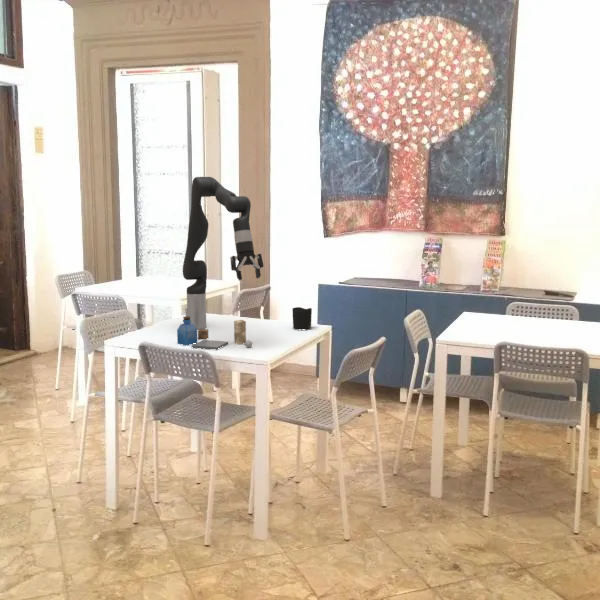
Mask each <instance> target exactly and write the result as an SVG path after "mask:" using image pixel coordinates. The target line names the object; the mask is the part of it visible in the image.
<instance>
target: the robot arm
mask: <svg viewBox="0 0 600 600" xmlns="http://www.w3.org/2000/svg"><path fill="white" fill-rule="evenodd" d="M190 191H191V194H190V195H191V196H190V197H191V199H190V200H191V201H190V214H189V215H190V216H189V222H188V230H187V241H186V249H185V254H184V260H183V263H182V264H183V265H182V277H183V278H184V279H185V280H186V281H193V280H194V281H195V282H194V283H192V284H191V285H190V286H187V287H186V308H185V316H189V317H190V319H191V322H190V324H194V326H195V327H196V329H197V330H199V329H206V328H207V301H206V300H207V293H206V292H207V278H208V277H207V275H208V273H207V271H208V269H207V268H208V267H207V265H206V262H205V261H204V260H200V259H199V260H197V259H196V260H195V258H196V255H197V253H198V251H199V250H200V249H201V247H202V246H203V245H204V243H205V242H206V241H207V238H208V232H209V220H208V218H207V216H206V215H205V213H204V211H203V208H202V198H204V197H205V198H207V197H208V198H210V197H215V200H216V202H217V203H219V204H220V205H222V206H224V207H225V209H226V211H227V212H229V213H232V214H237V213H238V214H239V213H240V217H236V218H234V219H233V220H232V227H233V234H234V235H233V236H234V244H235V245H234V246H235V250H236V256H235V255H232V256H230V257H229V258H230V269H231V271H235V273H236V278H237V280H238V281H243V280H242V279H243V276H242V270H241V269H242V267H244V266H251V267H253V268H254V269H255V270H254V271H255V278H256V279H260V277H261V268H264V261H263V258H262V253H258V254H255V247H254V242H253V236H252V233H251V232H252V231H251V225H250V216H251V215H250V213H251V206H252V205H251V201H250V199H249V197H248V196H245V195H242V196H238V195H236V193H234V192H232V190H229V189H227V188H225V187H224V186H223V185H222V183H220V182H219V181H218V180H217V179H215V178H214V177H212V176H196V177H194V178H193V180H192V183H191V190H190ZM255 259H256V260H257V261H256V260H255ZM236 261H238V263H237V262H236Z"/></svg>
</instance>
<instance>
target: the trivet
mask: <svg viewBox="0 0 600 600" xmlns="http://www.w3.org/2000/svg"><path fill="white" fill-rule="evenodd" d="M227 344H228V345H229V341H227V340H226V341H225V340H224V341H223V340H211V339H209V340H208V339H201V340H200V341H197V343H196V344H192V345H190V346H191V348H192V347H193V348H192V349H197V348H201V349H200V350H210V349H218V348H220V347H222V346H224V347H225V345H226V346H228V345H227ZM203 348H205V349H203ZM222 348H223V347H222ZM220 349H221V348H220ZM218 350H219V349H218Z"/></svg>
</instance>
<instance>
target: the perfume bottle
mask: <svg viewBox="0 0 600 600" xmlns="http://www.w3.org/2000/svg"><path fill="white" fill-rule="evenodd" d="M190 322H191V319H190V317H189V316H186V315H185V316H183V319H182V323H181V324H180V325H179V326H178V328H177V331H176V336H177V338H176V339H177V344H178V345H181V344H183V345H182V346H186V345H187V346H190V345H189V344H192V345H193V343H198V329H196V327H195V326H194V324H190Z"/></svg>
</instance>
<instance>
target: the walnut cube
mask: <svg viewBox="0 0 600 600" xmlns="http://www.w3.org/2000/svg"><path fill="white" fill-rule="evenodd" d="M207 338H208V339H209V329H206V328H203V329H197V340H208V339H207Z"/></svg>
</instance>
